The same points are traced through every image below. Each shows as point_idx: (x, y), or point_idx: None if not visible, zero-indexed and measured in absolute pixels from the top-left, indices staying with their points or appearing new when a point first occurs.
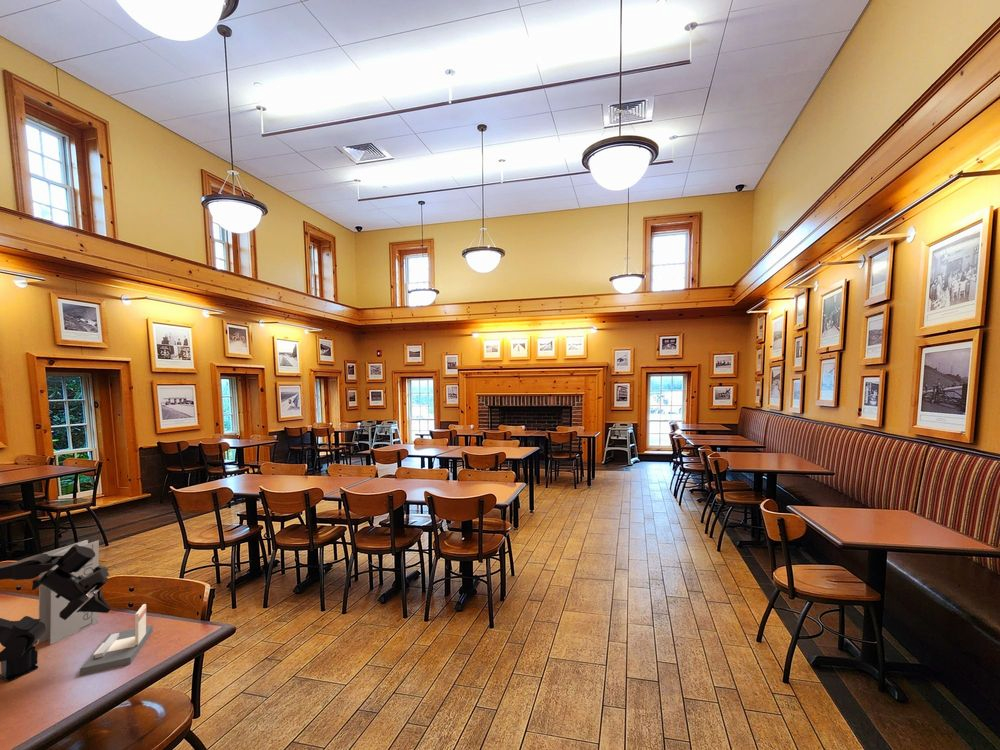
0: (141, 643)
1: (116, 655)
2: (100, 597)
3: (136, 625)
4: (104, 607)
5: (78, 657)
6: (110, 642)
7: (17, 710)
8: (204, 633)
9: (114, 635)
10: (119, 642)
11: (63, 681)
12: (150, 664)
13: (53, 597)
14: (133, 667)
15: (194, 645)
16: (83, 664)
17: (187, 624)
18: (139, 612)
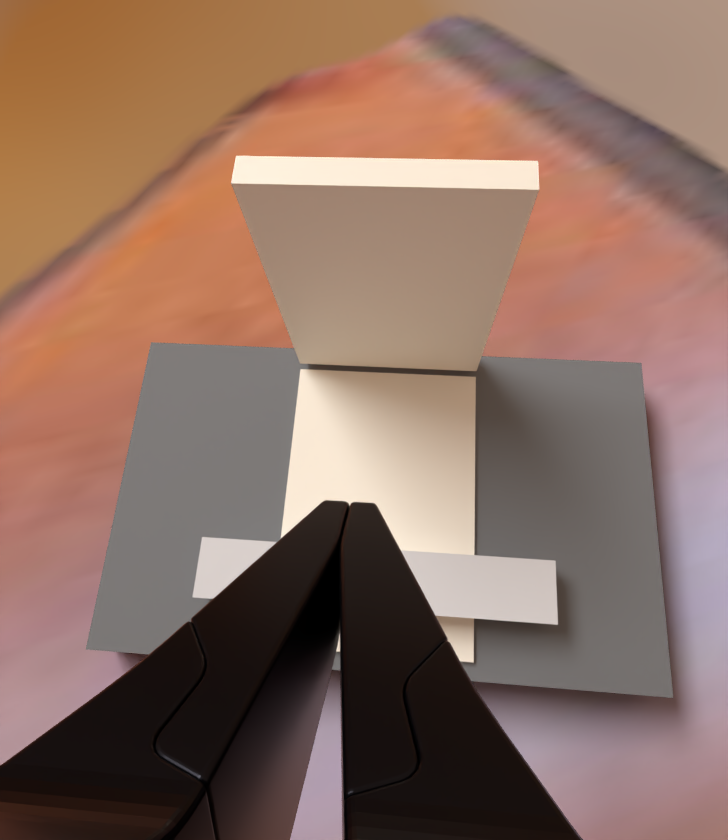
0: None
1: (566, 468)
2: (168, 778)
3: (508, 273)
4: (409, 580)
5: (311, 813)
6: None
7: None
8: (414, 77)
9: (240, 562)
10: None
11: (698, 794)
12: (683, 268)
13: None
14: (681, 353)
15: (546, 99)
16: (611, 691)
17: (216, 179)
18: (495, 164)
